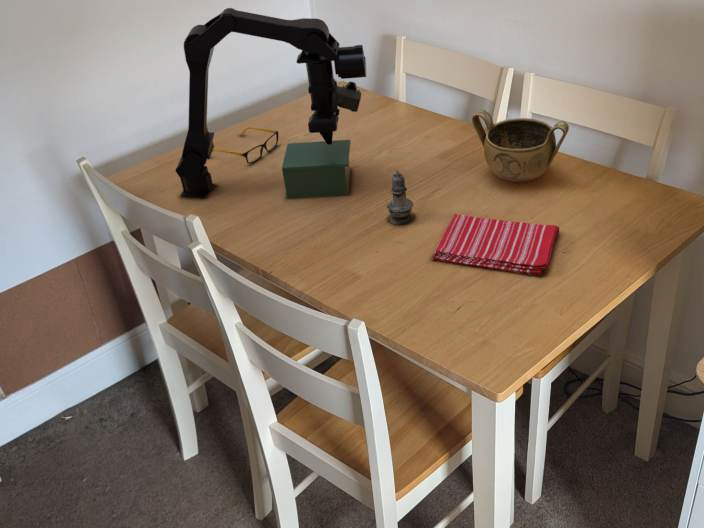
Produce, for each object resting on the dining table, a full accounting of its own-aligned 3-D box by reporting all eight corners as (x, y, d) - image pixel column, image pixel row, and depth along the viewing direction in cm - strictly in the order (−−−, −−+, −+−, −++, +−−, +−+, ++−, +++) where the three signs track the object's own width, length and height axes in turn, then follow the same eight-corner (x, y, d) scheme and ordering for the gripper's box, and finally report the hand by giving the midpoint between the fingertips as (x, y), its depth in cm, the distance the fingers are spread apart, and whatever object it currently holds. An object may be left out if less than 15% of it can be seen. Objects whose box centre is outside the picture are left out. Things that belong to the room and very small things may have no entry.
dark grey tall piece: (395, 228, 176) (391, 179, 169) (383, 216, 180) (378, 169, 173) (418, 220, 178) (416, 171, 170) (406, 209, 182) (402, 161, 175)
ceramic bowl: (461, 184, 189) (460, 125, 180) (487, 152, 200) (487, 95, 191) (552, 200, 180) (556, 138, 171) (574, 166, 192) (579, 107, 182)
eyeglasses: (249, 168, 204) (246, 153, 202) (207, 157, 211) (203, 143, 208) (283, 144, 213) (280, 130, 211) (241, 135, 220) (238, 121, 217)
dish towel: (545, 278, 157) (545, 267, 156) (430, 261, 165) (430, 250, 163) (561, 232, 169) (562, 221, 168) (454, 219, 177) (454, 208, 175)
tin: (350, 169, 199) (347, 142, 195) (348, 194, 189) (344, 167, 185) (292, 173, 200) (288, 146, 196) (287, 198, 190) (282, 171, 186)
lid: (350, 142, 195) (350, 139, 194) (348, 166, 185) (347, 163, 184) (288, 146, 196) (287, 143, 195) (282, 170, 186) (281, 167, 185)
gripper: (355, 93, 171) (362, 160, 180) (358, 61, 185) (365, 124, 195) (303, 97, 171) (313, 163, 181) (311, 65, 186) (319, 127, 196)
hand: (329, 143), depth 188 cm, fingers closed
